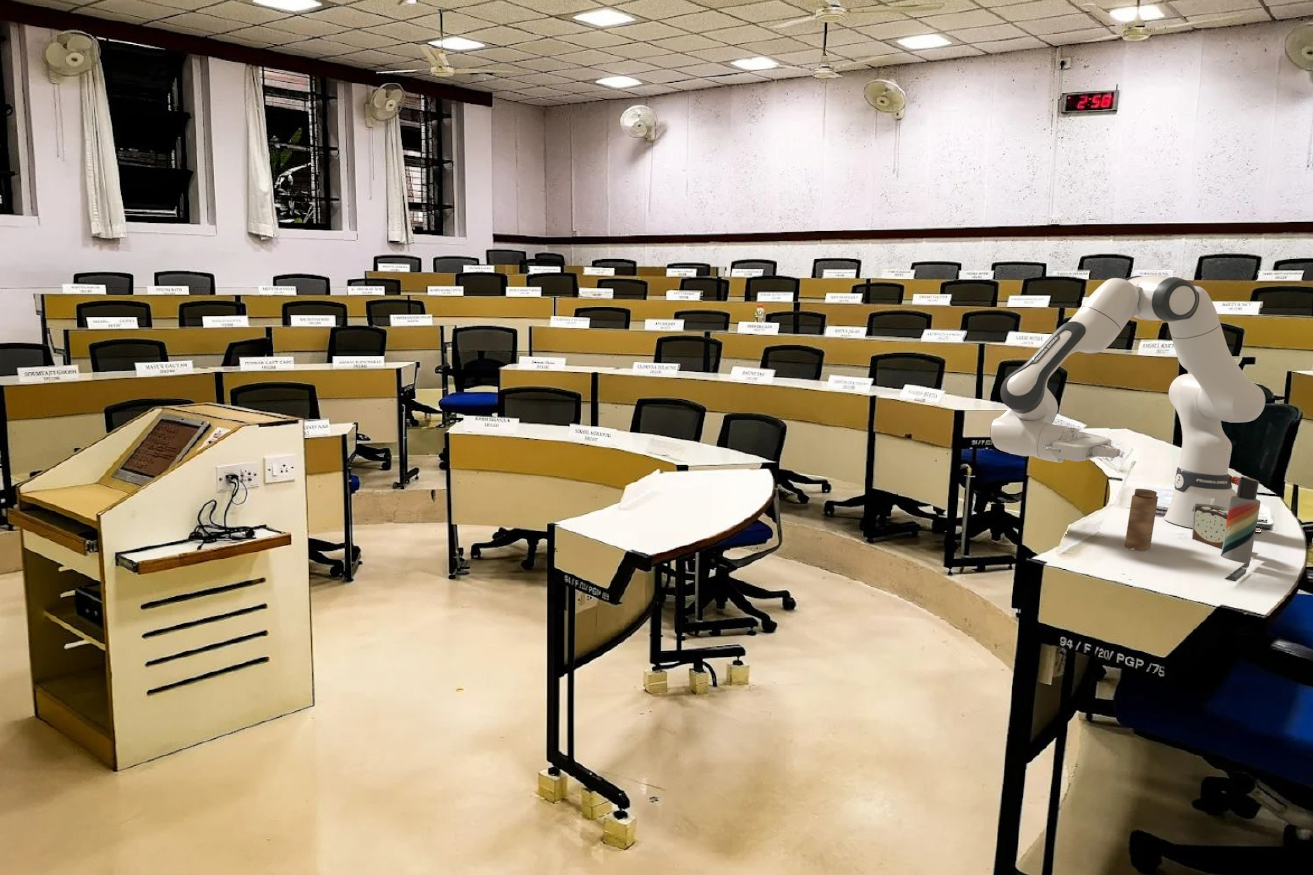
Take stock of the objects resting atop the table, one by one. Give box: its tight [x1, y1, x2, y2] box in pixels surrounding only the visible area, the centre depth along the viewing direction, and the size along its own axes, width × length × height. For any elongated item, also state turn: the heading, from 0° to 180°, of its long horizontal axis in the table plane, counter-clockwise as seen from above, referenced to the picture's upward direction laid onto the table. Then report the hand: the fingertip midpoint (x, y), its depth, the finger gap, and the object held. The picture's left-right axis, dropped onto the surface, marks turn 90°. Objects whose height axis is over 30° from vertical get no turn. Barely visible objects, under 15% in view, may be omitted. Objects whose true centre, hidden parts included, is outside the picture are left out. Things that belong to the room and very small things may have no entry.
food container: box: [1191, 504, 1229, 550], centre depth 222 cm, size 12×6×10 cm, turn 17°
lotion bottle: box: [1220, 475, 1261, 569], centre depth 210 cm, size 6×6×20 cm
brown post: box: [1124, 488, 1159, 552], centre depth 215 cm, size 4×8×13 cm, turn 136°
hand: (1117, 453), depth 217 cm, fingers closed
